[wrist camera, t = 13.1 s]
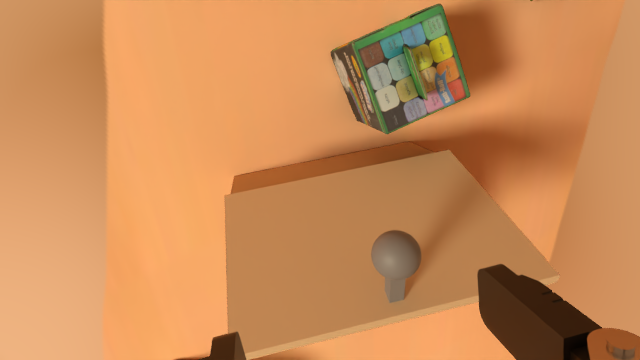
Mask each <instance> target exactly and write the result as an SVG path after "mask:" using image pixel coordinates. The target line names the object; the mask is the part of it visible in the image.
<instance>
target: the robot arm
mask: <svg viewBox="0 0 640 360" xmlns="http://www.w3.org/2000/svg"><path fill="white" fill-rule="evenodd" d="M477 278H478V295H479V310H480V314H481V317H482V319H483V321H484V323H485V325H486V326H487V328H488V329H489V330H490V331H491V332H492V333H493V334H494V335H495V337H496V338H497V339H498V340H499V341H500V342H501V343H502V344H503V345H504V346H505V348H506V349H507V350H508V351H509V352H510V353H511V354H512V355H513V356H514V357H515V359H516V360H640V337H639V336H637V335H635V334H633V333H630V332H628V331H624V330H620V329H614V328H602V327H600V326H599V325H598V324H596V323H595V322H594V321H592V320H591V319H589V318H588V317H587V316H586V315H584V314H582V313H581V312H580V311H579V310H577V309H576V308H575V307H573V306H572V305H571V304H569V303H568V302H567V301H563V299H562V298H561V297H560V296H558V295H557V294H556V293H553V292H552V290H550V289H549V288H548V287H546V286H545V285H544V284H542V283H541V282H540V281H537V280H535V279H532V278H530V277H527V276H525V275H517V274H515V273H514V272H513V271H512V270H510V269H509V268H508V267H506V266H505V265H503V264H498V265H494V266H490V267H486V268H482V269H479V270H478V274H477ZM198 360H246V356H245V353H244V349H243V346H242V342H241V339H240V336H239V333H238V332H233V333H229V334H225V335H221V336H217V337H214V338H213V340H212V347H211V354H210V356H209V357H205V358H202V359H198Z"/></svg>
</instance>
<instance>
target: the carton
mask: <svg viewBox="0 0 640 360" xmlns="http://www.w3.org/2000/svg"><path fill="white" fill-rule="evenodd" d="M430 153H435V152H433V151H430V150H428V149H425V148H423V147H421V146H418V145H416V144H414V143H411V142H404V143H399V144H394V145H389V146H383V147H378V148H373V149H368V150H363V151H358V152H353V153H348V154H343V155H338V156H333V157H328V158H323V159H318V160H313V161H308V162H303V163H298V164H293V165H288V166H283V167H278V168H273V169H268V170H263V171H258V172H253V173H248V174H243V175H238V176H234V180H233V185H232V190H231V194H234V193H239V192H244V191H249V190H254V189H258V188H263V187H268V186H273V185H278V184H283V183H288V182H293V181H298V180H303V179H308V178H312V177H317V176H322V175H327V174H332V173H337V172H342V171H347V170H352V169H357V168H362V167H366V166H371V165H376V164H381V163H386V162H391V161H396V160H401V159H406V158H411V157H416V156H420V155H425V154H430Z"/></svg>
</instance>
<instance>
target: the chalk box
mask: <svg viewBox="0 0 640 360" xmlns="http://www.w3.org/2000/svg"><path fill="white" fill-rule="evenodd" d="M331 56H332V59H333V62H334V64H335V67H336V69H337V72H338V75H339V77H340V80H341V82H342V85H343V88H344V90H345V92H346V94H347V97H348V100H349V103H350V105H351V108H352V110H353V112H354V115H355V117H356V119H357V121H360V122H362V123H364V124H366V125H369V126H371V127H373V128H375V129H377V130H379V131H382V132H383V133H385V134H389V133H391V132H393V131H395V130H397V129H399V128H402V127H404V126H406V125H408V124H411V123H413V122H415V121H417V120H419V119H422V118H424V117H426V116H428V115H430V114H433V113H435V112H437V111H439V110H441V109H444V108H446V107H448V106H450V105H452V104H455V103H457V102H459V101H461V100H464V99H466V98H468V97H470V92H469V89H468V86H467V82H466V79H465V75H464V72H463V69H462V66H461V62H460V59H459V56H458V53H457V50H456V47H455V44H454V40H453V37H452V34H451V32H450V29H449V26H448V22H447V19H446V15H445V12H444V9H443V6H442V5H441V4H436V5H434V6H431V7H428V8H425V9H423V10H421V11H418V12H416V13H413V14H411V15H410V16H408V17H406V18H405V19H402V20H400V21H397V22H395V23H392V24H390V25H388V26H385V27H383V28H381V29H378V30H376V31H373V32H371V33H369V34H367V35H365V36H362V37H360V38H358V39H356V40H353V41H351V42H349V43H347V44H344V45H342V46H340V47H338V48H335V49H334V50H332V51H331Z"/></svg>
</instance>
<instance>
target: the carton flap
mask: <svg viewBox="0 0 640 360" xmlns="http://www.w3.org/2000/svg"><path fill="white" fill-rule="evenodd" d="M225 234H226V274H227V314H228V334H229V333H233V332H238V333H239V336H240V339H241V342H242V346H243V349H244V353H245V356H246V360H250V359H254V358H258V357H262V356H266V355H270V354H274V353H278V352H282V351H286V350H290V349H294V348H298V347H302V346H306V345H310V344H314V343H318V342H322V341H326V340H330V339H334V338H338V337H342V336H346V335H350V334H354V333H358V332H362V331H366V330H370V329H373V328H377V327H381V326H385V325H389V324H393V323H397V322H401V321H405V320H409V319H413V318H417V317H421V316H425V315H429V314H433V313H437V312H441V311H445V310H449V309H453V308H457V307H461V306H465V305H469V304H473V303H477V302H479V295H478V278H477V274H478V270H479V269H482V268H486V267H490V266H494V265H498V264H503V265H505V266H506V267H508V268H509V269H510V270H512V271H513V272H514V273H515V274H517V275H525V276H527V277H530V278H532V279H535V280H537V281H540V282H541V283H542V284H544V285H548V284H552V283H556V282H557V281H558V279H559V276H560V274H559V273H558V272H557V271H556V270H555V269H554V267H553V266H552V265H551V264H550V263H549V262H548V261H547V260H546V258H545V257H544V256H543V255H542V254H541V253H540V252H539V250H538V249H537V248H536V247H535V246H534V245H533V244H532V243H531V241H530V240H529V239H528V238H527V237H526V236H525V235H524V234H523V232H522V231H521V230H520V229H519V228H518V227H517V226H516V225H515V223H514V222H513V221H512V220H511V219H510V218H509V217H508V215H507V214H506V213H505V212H504V211H503V210H502V209H501V208H500V206H499V205H498V204H497V203H496V202H495V201H494V200H493V199H492V197H491V196H490V195H489V194H488V193H487V192H486V191H485V189H484V188H483V187H482V186H481V185H480V184H479V183H478V182H477V180H476V179H475V178H474V177H473V176H472V175H471V174H470V173H469V171H468V170H467V169H466V168H465V167H464V166H463V165H462V164H461V162H460V161H459V160H458V159H457V158H456V157H455V156H454V154H453V153H452V152H451V151H450V150H445V151H440V152H435V153H430V154H425V155H420V156H416V157H411V158H406V159H401V160H396V161H391V162H386V163H381V164H376V165H371V166H366V167H362V168H357V169H352V170H347V171H342V172H337V173H332V174H327V175H322V176H317V177H312V178H308V179H303V180H298V181H293V182H288V183H283V184H278V185H273V186H268V187H263V188H258V189H254V190H249V191H244V192H239V193H234V194H229V195H225Z"/></svg>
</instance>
